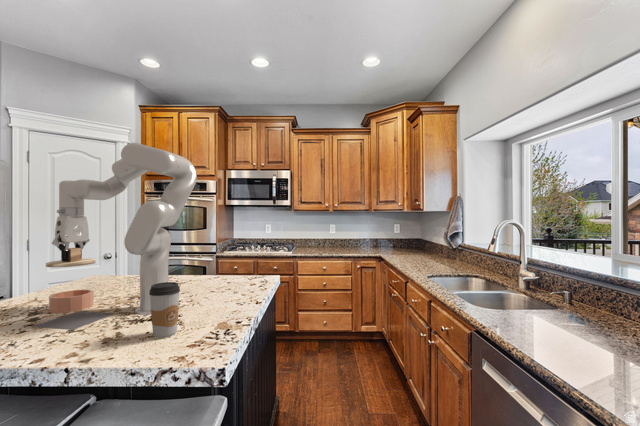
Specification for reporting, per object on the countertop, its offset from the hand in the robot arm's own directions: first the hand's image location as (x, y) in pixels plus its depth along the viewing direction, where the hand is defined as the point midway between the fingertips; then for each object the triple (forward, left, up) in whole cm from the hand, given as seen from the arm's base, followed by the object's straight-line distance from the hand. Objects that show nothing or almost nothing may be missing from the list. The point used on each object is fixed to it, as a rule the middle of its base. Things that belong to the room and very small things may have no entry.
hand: (71, 259), depth 118 cm
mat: (-15, +11, -19) cm, 27 cm away
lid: (0, 0, -2) cm, 2 cm away
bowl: (0, 0, -19) cm, 19 cm away
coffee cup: (-53, +16, -19) cm, 59 cm away
